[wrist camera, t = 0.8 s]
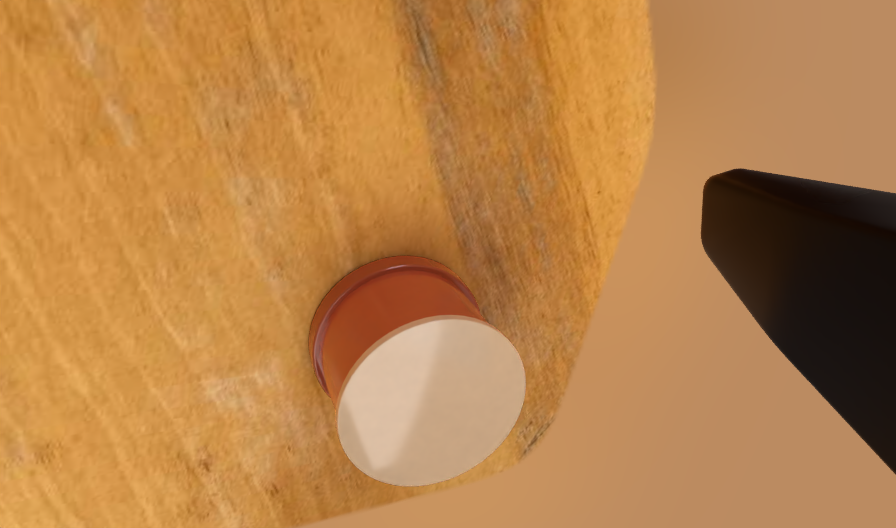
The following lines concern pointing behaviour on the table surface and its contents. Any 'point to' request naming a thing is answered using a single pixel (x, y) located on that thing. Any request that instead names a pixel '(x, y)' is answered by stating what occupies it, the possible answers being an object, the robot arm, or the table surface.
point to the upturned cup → (414, 372)
